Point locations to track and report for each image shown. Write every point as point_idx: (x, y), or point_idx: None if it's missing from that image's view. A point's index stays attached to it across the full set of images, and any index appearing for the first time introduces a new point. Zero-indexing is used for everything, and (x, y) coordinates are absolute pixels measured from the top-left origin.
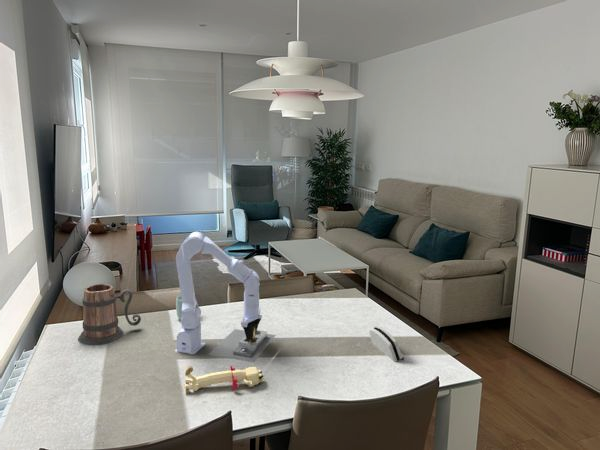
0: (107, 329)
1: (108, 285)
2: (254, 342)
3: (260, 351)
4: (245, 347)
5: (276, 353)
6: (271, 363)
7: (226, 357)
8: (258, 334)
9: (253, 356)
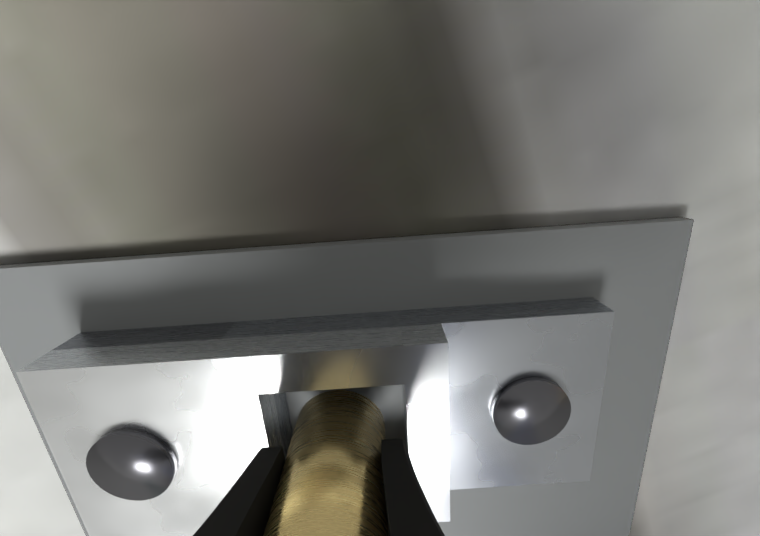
0: None
1: None
2: (341, 391)
3: (435, 261)
4: (474, 421)
5: (379, 74)
6: (647, 26)
7: (640, 474)
8: (165, 432)
9: (567, 281)
